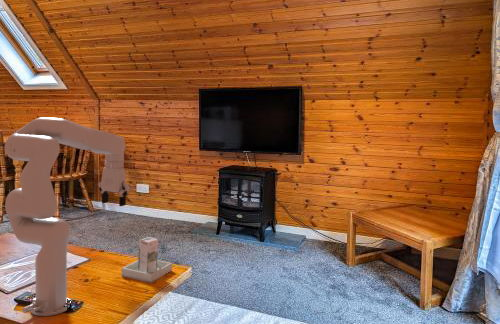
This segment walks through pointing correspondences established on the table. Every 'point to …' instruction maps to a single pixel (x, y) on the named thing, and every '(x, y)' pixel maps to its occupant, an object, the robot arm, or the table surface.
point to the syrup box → (148, 255)
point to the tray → (133, 273)
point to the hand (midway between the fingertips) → (113, 204)
